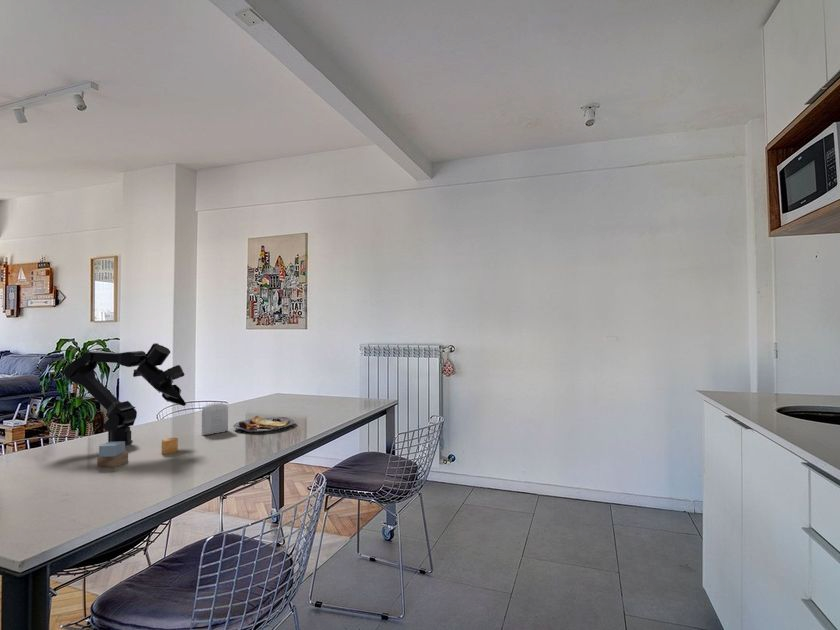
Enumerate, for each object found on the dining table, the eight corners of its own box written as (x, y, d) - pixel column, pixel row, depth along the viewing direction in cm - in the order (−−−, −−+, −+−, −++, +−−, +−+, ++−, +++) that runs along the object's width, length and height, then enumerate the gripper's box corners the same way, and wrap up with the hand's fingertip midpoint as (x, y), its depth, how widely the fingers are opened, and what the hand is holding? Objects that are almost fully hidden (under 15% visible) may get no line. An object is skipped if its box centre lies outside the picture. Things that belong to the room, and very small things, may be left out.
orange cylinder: (158, 454, 152) (158, 441, 152) (166, 450, 157) (166, 438, 157) (173, 454, 152) (173, 441, 152) (180, 450, 157) (180, 437, 157)
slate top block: (99, 456, 139) (99, 445, 139) (109, 452, 144) (109, 441, 144) (115, 456, 140) (115, 445, 140) (125, 451, 145) (125, 441, 145)
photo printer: (225, 429, 187) (225, 400, 187) (229, 431, 184) (229, 402, 184) (200, 434, 180) (200, 404, 180) (203, 436, 177) (203, 405, 177)
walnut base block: (97, 468, 139) (97, 457, 139) (109, 462, 145) (109, 451, 145) (116, 467, 139) (116, 456, 139) (128, 461, 145) (128, 451, 145)
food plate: (221, 431, 184) (222, 422, 185) (259, 420, 206) (260, 412, 206) (270, 437, 176) (270, 428, 176) (304, 425, 198) (304, 417, 198)
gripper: (164, 350, 161) (195, 377, 159) (177, 368, 177) (205, 393, 175) (137, 372, 155) (168, 400, 153) (153, 388, 171) (181, 414, 169)
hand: (182, 401), depth 163 cm, fingers open, 9 cm apart
